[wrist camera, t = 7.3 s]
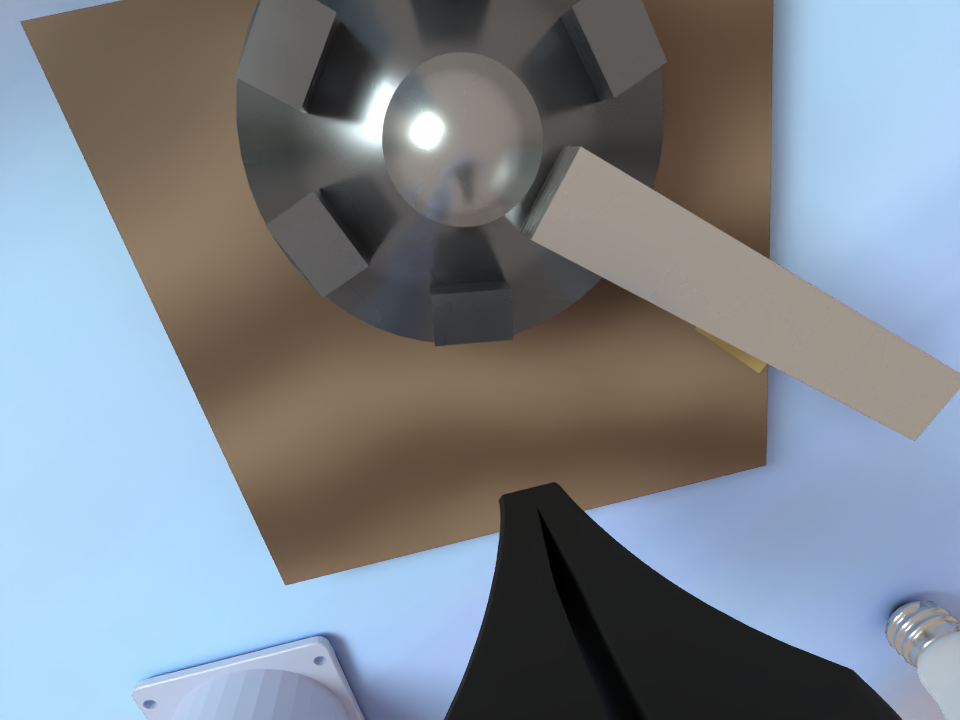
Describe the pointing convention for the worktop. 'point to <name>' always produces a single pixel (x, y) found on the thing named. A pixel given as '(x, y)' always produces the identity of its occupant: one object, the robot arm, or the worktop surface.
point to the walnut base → (399, 360)
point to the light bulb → (930, 650)
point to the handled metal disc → (519, 187)
